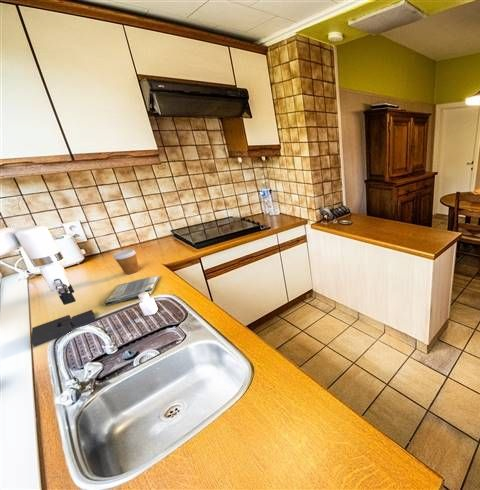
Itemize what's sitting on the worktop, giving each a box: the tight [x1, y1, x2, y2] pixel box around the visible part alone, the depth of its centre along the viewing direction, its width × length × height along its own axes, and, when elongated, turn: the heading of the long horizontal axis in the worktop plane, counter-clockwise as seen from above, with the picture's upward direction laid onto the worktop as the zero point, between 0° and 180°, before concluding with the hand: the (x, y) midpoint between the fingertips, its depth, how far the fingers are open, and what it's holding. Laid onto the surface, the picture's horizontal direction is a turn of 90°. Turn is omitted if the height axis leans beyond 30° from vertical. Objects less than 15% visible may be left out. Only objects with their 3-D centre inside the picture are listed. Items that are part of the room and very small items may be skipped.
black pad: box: [61, 309, 97, 328], centre depth 107 cm, size 6×9×3 cm, turn 138°
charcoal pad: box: [30, 314, 74, 348], centre depth 102 cm, size 12×10×3 cm
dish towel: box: [103, 275, 160, 307], centre depth 128 cm, size 19×18×3 cm
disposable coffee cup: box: [112, 248, 140, 275], centre depth 146 cm, size 10×10×12 cm
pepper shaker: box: [138, 292, 159, 317], centre depth 110 cm, size 4×4×10 cm
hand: (69, 298), depth 104 cm, fingers open, 9 cm apart
